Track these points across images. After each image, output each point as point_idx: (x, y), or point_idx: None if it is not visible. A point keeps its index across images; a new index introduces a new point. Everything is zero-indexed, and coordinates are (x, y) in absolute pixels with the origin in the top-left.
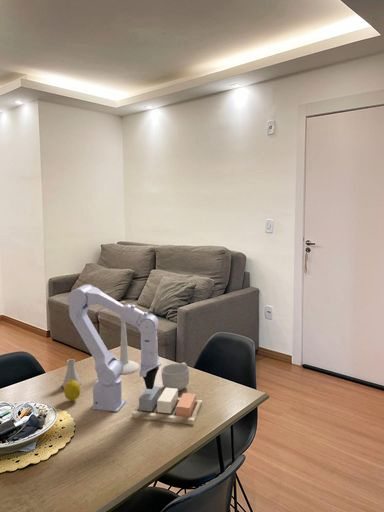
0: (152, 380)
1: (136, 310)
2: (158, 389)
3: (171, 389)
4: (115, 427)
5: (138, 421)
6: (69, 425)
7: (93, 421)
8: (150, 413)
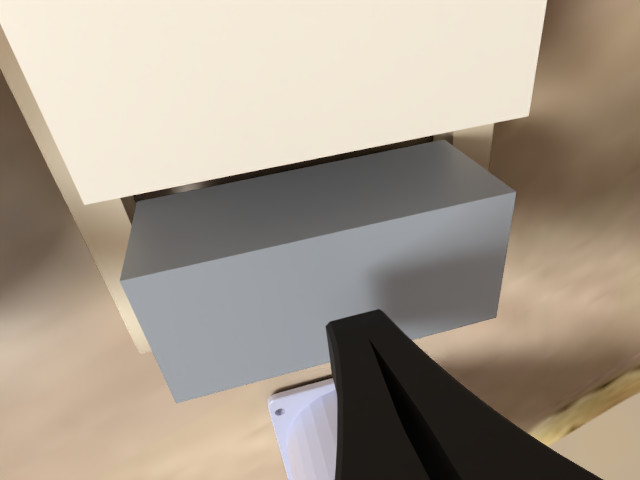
0: (499, 418)
1: None
2: (209, 263)
3: (90, 73)
4: (580, 264)
5: (506, 180)
6: (560, 425)
7: (523, 381)
8: (463, 135)
